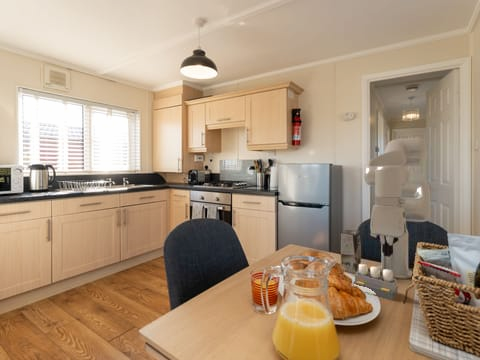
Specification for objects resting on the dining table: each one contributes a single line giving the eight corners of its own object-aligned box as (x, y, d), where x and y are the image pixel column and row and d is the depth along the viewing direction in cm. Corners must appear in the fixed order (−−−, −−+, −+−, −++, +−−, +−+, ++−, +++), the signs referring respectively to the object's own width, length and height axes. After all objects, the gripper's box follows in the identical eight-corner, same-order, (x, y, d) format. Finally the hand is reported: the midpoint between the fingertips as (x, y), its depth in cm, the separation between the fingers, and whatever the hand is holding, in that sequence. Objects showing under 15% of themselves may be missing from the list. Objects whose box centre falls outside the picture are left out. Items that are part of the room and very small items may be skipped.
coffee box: (356, 273, 106) (356, 235, 106) (340, 270, 110) (340, 233, 110) (361, 267, 114) (361, 230, 113) (346, 264, 118) (346, 229, 117)
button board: (360, 282, 98) (360, 269, 98) (397, 292, 90) (397, 278, 90) (353, 288, 93) (353, 275, 93) (392, 300, 85) (392, 285, 85)
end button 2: (360, 272, 96) (360, 263, 96) (369, 274, 94) (369, 265, 94) (357, 274, 94) (357, 265, 94) (366, 277, 92) (366, 267, 92)
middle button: (372, 275, 93) (371, 265, 93) (381, 277, 91) (381, 267, 91) (369, 277, 91) (369, 268, 91) (378, 280, 89) (378, 270, 89)
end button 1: (384, 278, 91) (384, 268, 91) (393, 280, 89) (393, 270, 88) (381, 281, 89) (381, 271, 88) (391, 283, 86) (391, 273, 86)
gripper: (416, 202, 85) (415, 257, 85) (367, 199, 95) (367, 249, 96) (411, 204, 79) (411, 263, 80) (360, 201, 90) (360, 253, 90)
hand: (387, 255), depth 88 cm, fingers closed
